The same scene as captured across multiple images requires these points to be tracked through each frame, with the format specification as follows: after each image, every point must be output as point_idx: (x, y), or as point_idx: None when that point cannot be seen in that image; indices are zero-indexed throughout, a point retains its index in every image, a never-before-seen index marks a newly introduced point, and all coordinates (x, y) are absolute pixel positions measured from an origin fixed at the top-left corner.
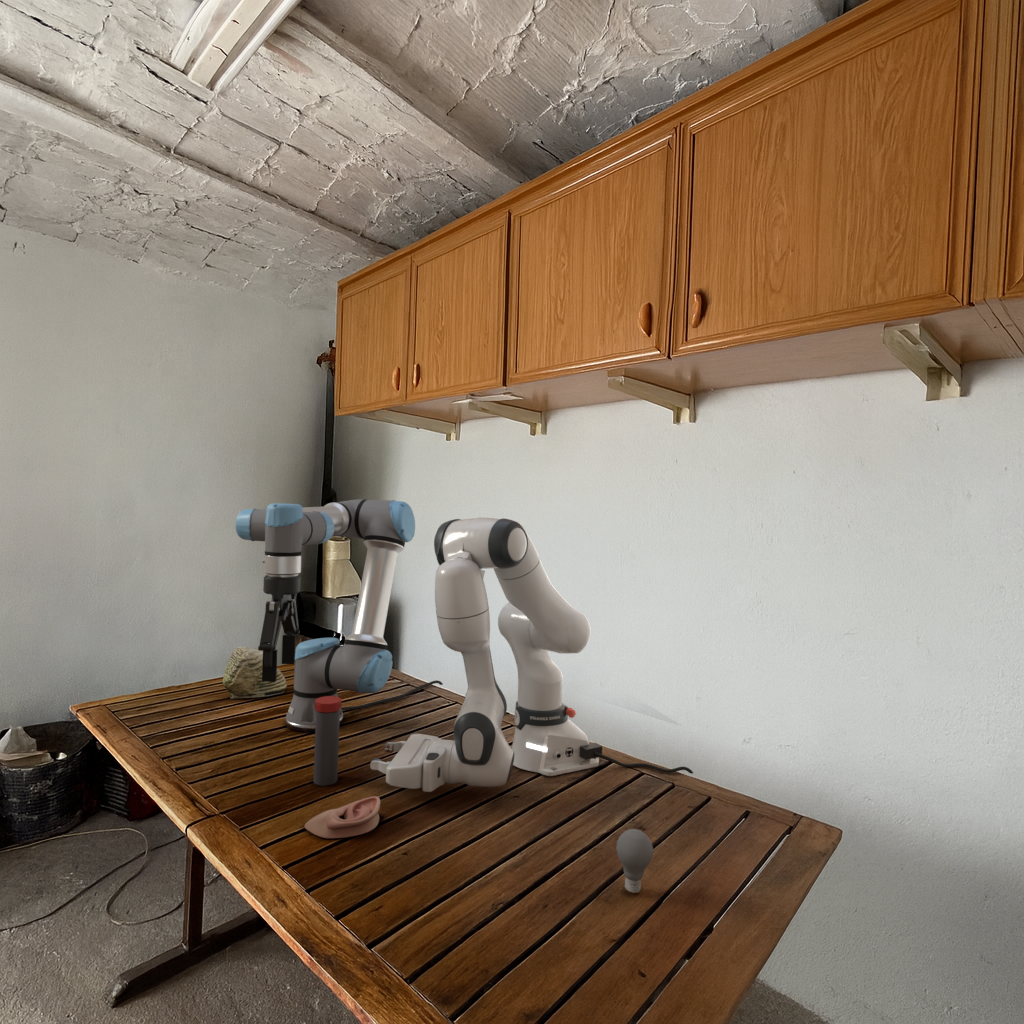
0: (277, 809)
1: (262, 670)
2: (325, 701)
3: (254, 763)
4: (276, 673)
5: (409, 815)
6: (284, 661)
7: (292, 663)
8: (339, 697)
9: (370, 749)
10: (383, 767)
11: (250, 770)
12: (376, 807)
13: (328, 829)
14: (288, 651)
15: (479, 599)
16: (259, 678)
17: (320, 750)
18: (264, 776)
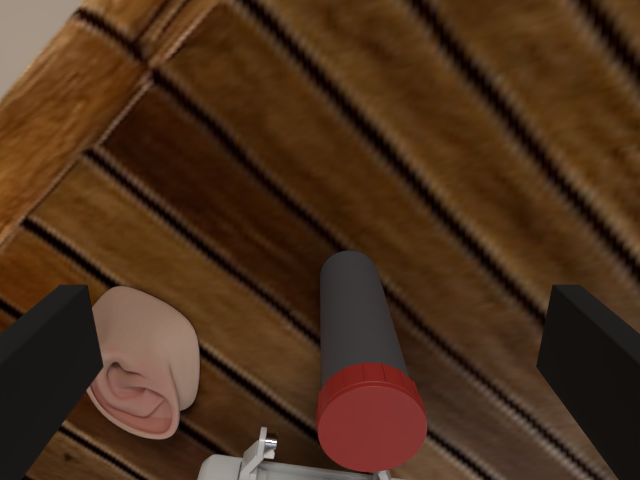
0: (190, 206)
1: (6, 330)
2: (349, 424)
3: (468, 52)
4: (71, 403)
5: (199, 452)
6: (560, 313)
7: (540, 361)
8: (404, 461)
9: (537, 345)
10: (244, 460)
11: (416, 58)
12: (136, 433)
13: None
14: (604, 396)
15: None
16: None
17: (322, 313)
18: (374, 115)
